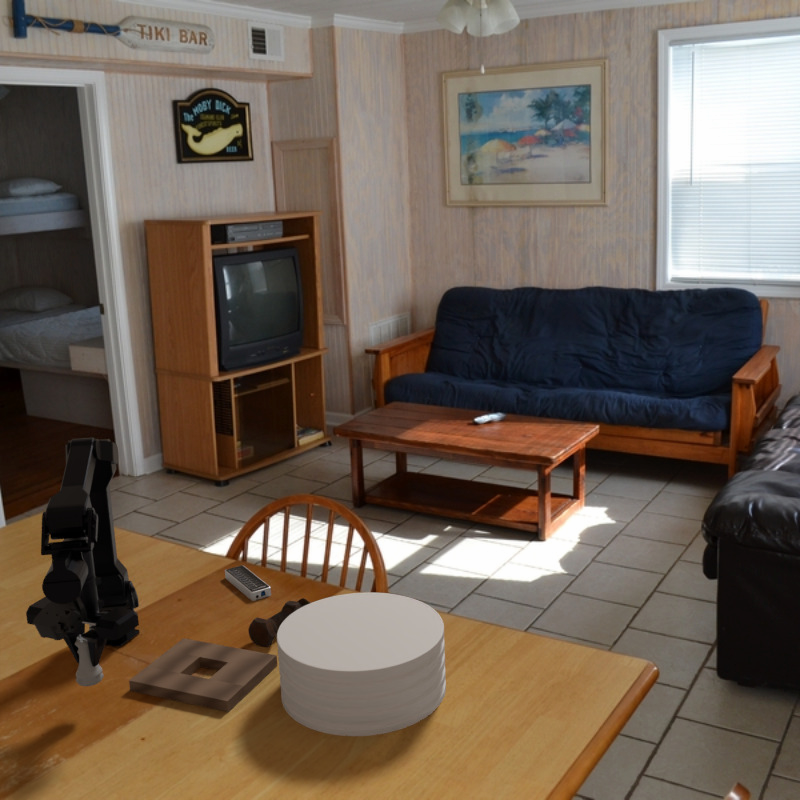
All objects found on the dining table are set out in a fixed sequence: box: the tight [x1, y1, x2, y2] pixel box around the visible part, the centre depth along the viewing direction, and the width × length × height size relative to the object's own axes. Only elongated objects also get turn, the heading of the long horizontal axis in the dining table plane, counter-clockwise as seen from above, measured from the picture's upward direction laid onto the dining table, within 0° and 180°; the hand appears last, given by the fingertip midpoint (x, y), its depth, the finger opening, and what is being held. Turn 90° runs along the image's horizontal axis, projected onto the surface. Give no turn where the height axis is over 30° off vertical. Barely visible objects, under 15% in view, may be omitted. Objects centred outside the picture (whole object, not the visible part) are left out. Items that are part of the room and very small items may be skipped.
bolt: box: [248, 597, 311, 648], centre depth 190 cm, size 6×5×15 cm
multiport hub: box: [224, 564, 272, 602], centre depth 209 cm, size 4×14×2 cm, turn 33°
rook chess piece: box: [75, 633, 104, 687], centre depth 162 cm, size 4×4×8 cm
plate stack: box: [276, 591, 447, 737], centre depth 166 cm, size 28×28×12 cm
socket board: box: [128, 637, 278, 713], centre depth 173 cm, size 20×16×2 cm
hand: (88, 663), depth 162 cm, fingers closed on rook chess piece, 3 cm apart
